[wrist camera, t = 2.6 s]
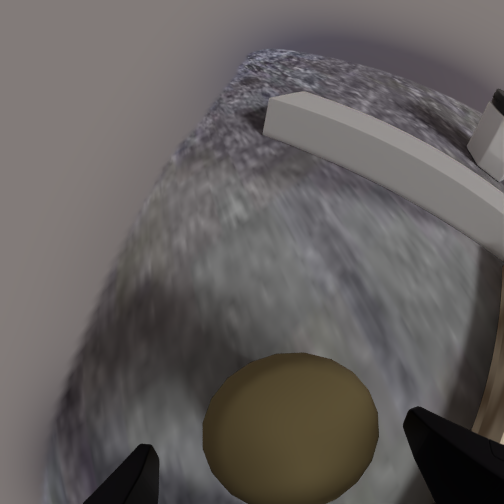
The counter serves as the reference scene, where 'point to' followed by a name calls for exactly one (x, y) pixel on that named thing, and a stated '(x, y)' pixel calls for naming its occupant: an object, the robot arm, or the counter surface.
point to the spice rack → (494, 388)
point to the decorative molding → (391, 163)
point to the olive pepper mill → (290, 430)
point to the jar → (490, 138)
